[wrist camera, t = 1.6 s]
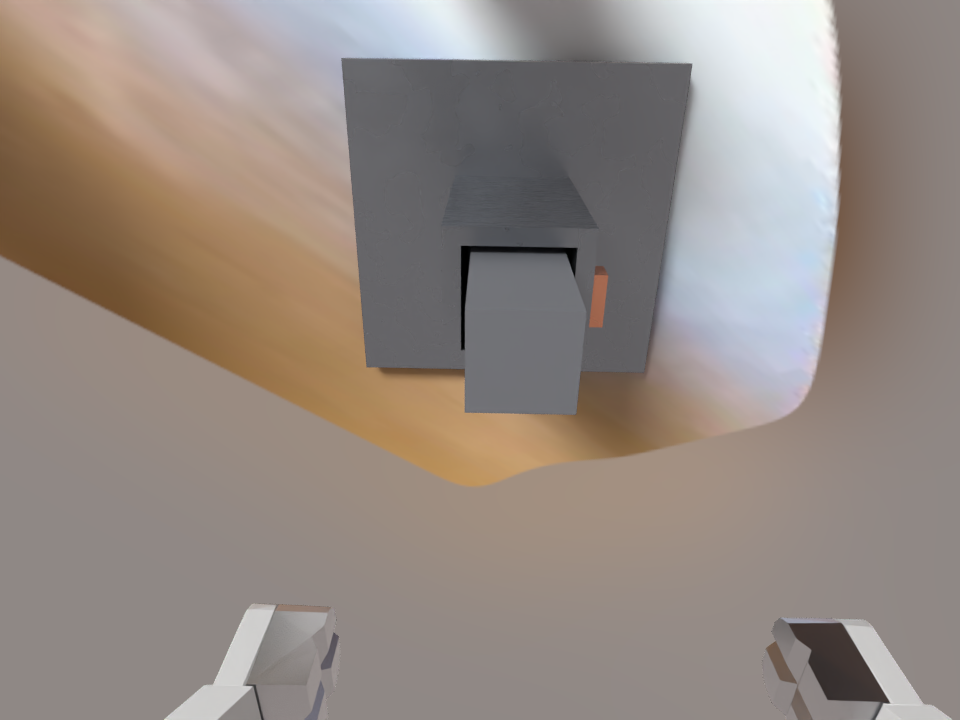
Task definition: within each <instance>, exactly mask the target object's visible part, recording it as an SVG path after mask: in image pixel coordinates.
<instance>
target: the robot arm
mask: <svg viewBox="0 0 960 720" xmlns="http://www.w3.org/2000/svg"><path fill="white" fill-rule="evenodd" d="M336 621H337V619H336V613H335V608H333V607H320V606H302V605H283V604H256V603H255V604H254V603H253V604H251V606H250V607H249V608H248V609H247V610H246V612H245V614H244V616H243V619H242V621H241V623H240V625H239V628H238V630H237V633H236V634H235V637H234V639H233V641H232V643H231V646H230V648H229V650H228V652H227V655H226V657H225V659H224V661H223V664H222V666H221V668H220V670H219V673H218V675H217V677H216V679H215V682H214V684H213V685H204V686H203V687H202V688H200V689H199V690H198V691H197V692H196V693H195V694H193V695H192V696H191V697H190V698H189V699H187V700H186V701H185V702H184V703H183V704H182V705H180V706H179V707H178V708H177V709H176V710H174V711H173V712H172V713H171V714H170V715H169V716H167V717H166V718H165V719H164V720H327V718H328V710H327V703H326V699H327V698H328V697H329V696H330V695H331V694H332V693H333V692H334V690H335V686H336V682H337V677H338V671H339V663H340V641H339V636H338V635H336V634H335V633H334V628H335V625H336ZM771 632H772V634H773V636H774V638H775V640H776V641H775V642H774V643H772V644H771V645H769V646H768V647H767V648H766V649H765V653H764V657H763V660H762V666H763V678H764V683H765V687H766V690H767V692H768V695H769V698H770V700H771V703H772V704H773V705H774V706H775V707H776V708H778V709H779V710H780V711H781V712H782V713H783V714H784V715H785V716H786V717H785V720H952V719H950V718H949V717H948V716H946V715H945V714H944V713H942V712H941V711H940V710H938V709H937V708H936V707H934V706H933V705H924V704H923V703H922V701H921V700H920V698H919V697H918V695H917V694H916V692H915V691H914V689H913V688H912V686H911V685H910V683H909V681H908V680H907V678H906V677H905V676H904V674H903V672H902V671H901V669H900V668H899V666H898V665H897V663H896V662H895V660H894V659H893V657H892V656H891V654H890V653H889V651H888V650H887V648H886V647H885V645H884V644H883V642H882V640H881V639H880V637H879V636H878V634H877V633H876V631H875V630H874V628H873V627H872V625H871V624H869V623H868V622H867V621H865V620H852V619H832V618H779V619H778V620H777V621H776V622H775V623H774V626H773V629H772V631H771Z"/></svg>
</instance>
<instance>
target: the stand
mask: <svg viewBox="0 0 960 720" xmlns="http://www.w3.org/2000/svg"><path fill="white" fill-rule="evenodd" d="M341 59H342V71H343V83H344V95H345V108H346V120H347V132H348V145H349V157H350V169H351V181H352V194H353V206H354V218H355V230H356V243H357V255H358V267H359V279H360V292H361V304H362V316H363V329H364V341H365V353H366V365H367V367H386V368H437V369H465V304H466V294H467V284H468V274H469V264H470V254H471V246H510V247H564V249H565V252H566V255H567V258H568V261H569V263H570V266H571V269H572V272H573V275H574V277H575V280H576V283H577V286H578V289H579V292H580V294H581V297H582V300H583V303H584V306H585V308H586V311H587V313H586V323H585V333H584V343H583V353H582V363H581V371H588V372H638V373H644V370H645V364H646V357H647V351H648V345H649V338H650V332H651V325H652V319H653V313H654V306H655V300H656V293H657V287H658V281H659V274H660V268H661V261H662V255H663V249H664V242H665V236H666V229H667V223H668V217H669V210H670V204H671V197H672V191H673V185H674V178H675V172H676V165H677V159H678V153H679V146H680V140H681V133H682V127H683V121H684V114H685V108H686V101H687V95H688V89H689V82H690V76H691V69H692V64H690V63H654V62H590V61H525V60H460V59H396V58H341Z"/></svg>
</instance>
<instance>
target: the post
mask: <svg viewBox="0 0 960 720" xmlns="http://www.w3.org/2000/svg"><path fill="white" fill-rule="evenodd" d="M586 313H587V311H586V308H585V306H584V303H583V300H582V297H581V294H580V292H579V289H578V286H577V283H576V280H575V277H574V275H573V272H572V269H571V266H570V263H569V261H568V258H567V255H566V252H565V249H564V247H510V246H471V254H470V264H469V274H468V284H467V294H466V304H465V413H514V414H563V415H576V412H577V402H578V392H579V382H580V372H581V363H582V353H583V343H584V333H585V323H586Z"/></svg>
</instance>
